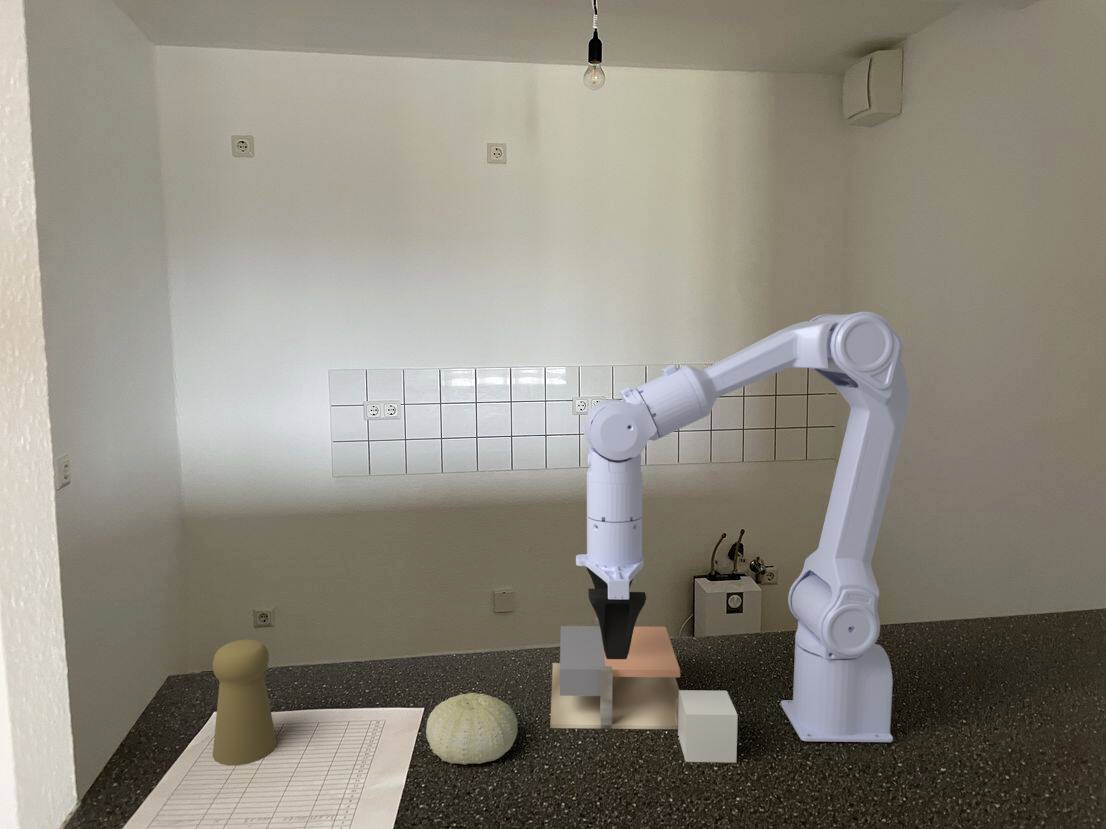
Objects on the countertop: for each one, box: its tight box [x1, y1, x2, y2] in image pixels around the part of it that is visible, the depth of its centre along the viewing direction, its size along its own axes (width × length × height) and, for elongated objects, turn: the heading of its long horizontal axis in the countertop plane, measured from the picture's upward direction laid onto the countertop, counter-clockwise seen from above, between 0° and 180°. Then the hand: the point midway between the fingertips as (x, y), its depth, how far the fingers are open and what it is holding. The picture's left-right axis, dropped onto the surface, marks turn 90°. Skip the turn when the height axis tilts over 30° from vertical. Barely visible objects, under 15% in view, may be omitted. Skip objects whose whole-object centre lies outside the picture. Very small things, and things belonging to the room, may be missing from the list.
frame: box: [549, 616, 680, 730], centre depth 87 cm, size 15×15×6 cm
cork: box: [212, 639, 277, 766], centre depth 75 cm, size 6×6×11 cm
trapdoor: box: [559, 625, 681, 696], centre depth 87 cm, size 13×12×3 cm
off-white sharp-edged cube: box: [677, 689, 739, 763], centre depth 76 cm, size 5×5×5 cm
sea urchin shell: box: [425, 692, 519, 765], centre depth 76 cm, size 9×8×8 cm
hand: (614, 642), depth 78 cm, fingers open, 7 cm apart
